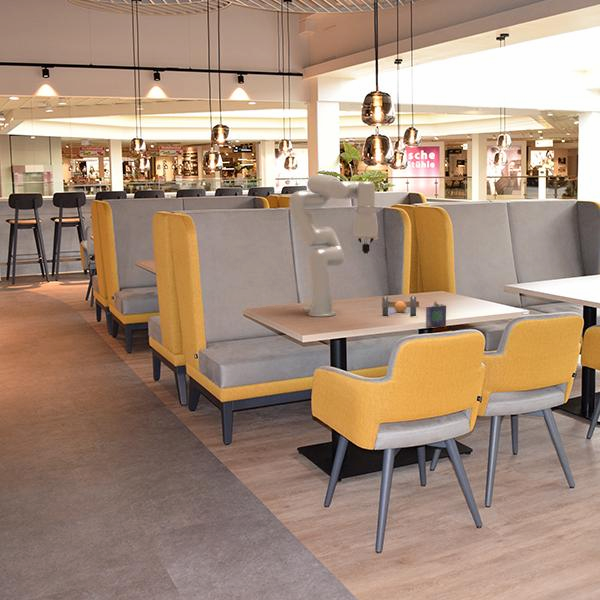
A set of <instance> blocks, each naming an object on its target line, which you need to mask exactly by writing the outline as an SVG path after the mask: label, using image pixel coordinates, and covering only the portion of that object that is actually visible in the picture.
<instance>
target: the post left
mask: <svg viewBox="0 0 600 600" xmlns="http://www.w3.org/2000/svg"><path fill="white" fill-rule="evenodd" d="M381 297H382V301H381V307H382V310H381V311H382V315H381V316H382V317H383V316H387V317H389V314H388V308H389V307H388V301H389V296H386V295H385V296H381Z"/></svg>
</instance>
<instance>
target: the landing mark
mask: <svg viewBox="0 0 600 600" xmlns="http://www.w3.org/2000/svg"><path fill="white" fill-rule="evenodd" d="M388 313H398V312H397V311H396V310H395V308H394V307H388ZM403 313H410V308H406V310H405V311H404V312H403Z"/></svg>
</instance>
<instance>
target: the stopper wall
mask: <svg viewBox="0 0 600 600" xmlns="http://www.w3.org/2000/svg"><path fill="white" fill-rule="evenodd" d="M398 301H399V300H398ZM398 301H397V300H396V301H393V300H392V301H391V300H388V308H394V306H395V304H396V302H398ZM402 301H403V300H402ZM403 302H404V303H405V304H406V308H410V300H407V301H406V300H404V301H403ZM416 308H420V301H417V300H416Z"/></svg>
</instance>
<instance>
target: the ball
mask: <svg viewBox="0 0 600 600" xmlns="http://www.w3.org/2000/svg"><path fill="white" fill-rule="evenodd" d="M393 308H395V310H396V311H397V312H398V313H403V312H404V311H405V310H406V309H407V307H406V304H405V303H404V302H403V300H398V302H396V304H395V306H394V307H393Z"/></svg>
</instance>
